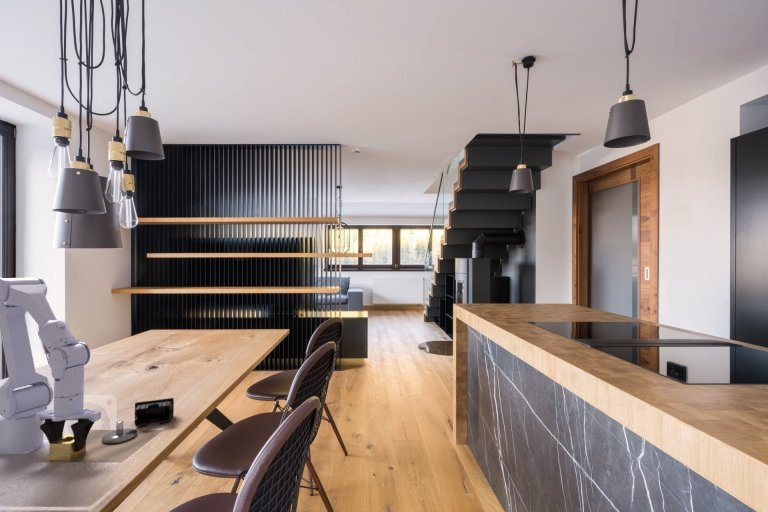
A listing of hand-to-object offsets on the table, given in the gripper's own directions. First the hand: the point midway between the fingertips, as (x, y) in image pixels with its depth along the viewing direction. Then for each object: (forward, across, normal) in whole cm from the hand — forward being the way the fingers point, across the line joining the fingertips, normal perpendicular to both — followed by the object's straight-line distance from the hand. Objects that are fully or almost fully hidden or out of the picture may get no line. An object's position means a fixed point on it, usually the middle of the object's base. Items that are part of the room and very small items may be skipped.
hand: (68, 449), depth 97 cm
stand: (+1, +6, +10) cm, 12 cm away
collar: (+1, 0, 0) cm, 1 cm away
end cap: (+2, +9, +21) cm, 23 cm away
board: (+2, +5, +6) cm, 8 cm away
